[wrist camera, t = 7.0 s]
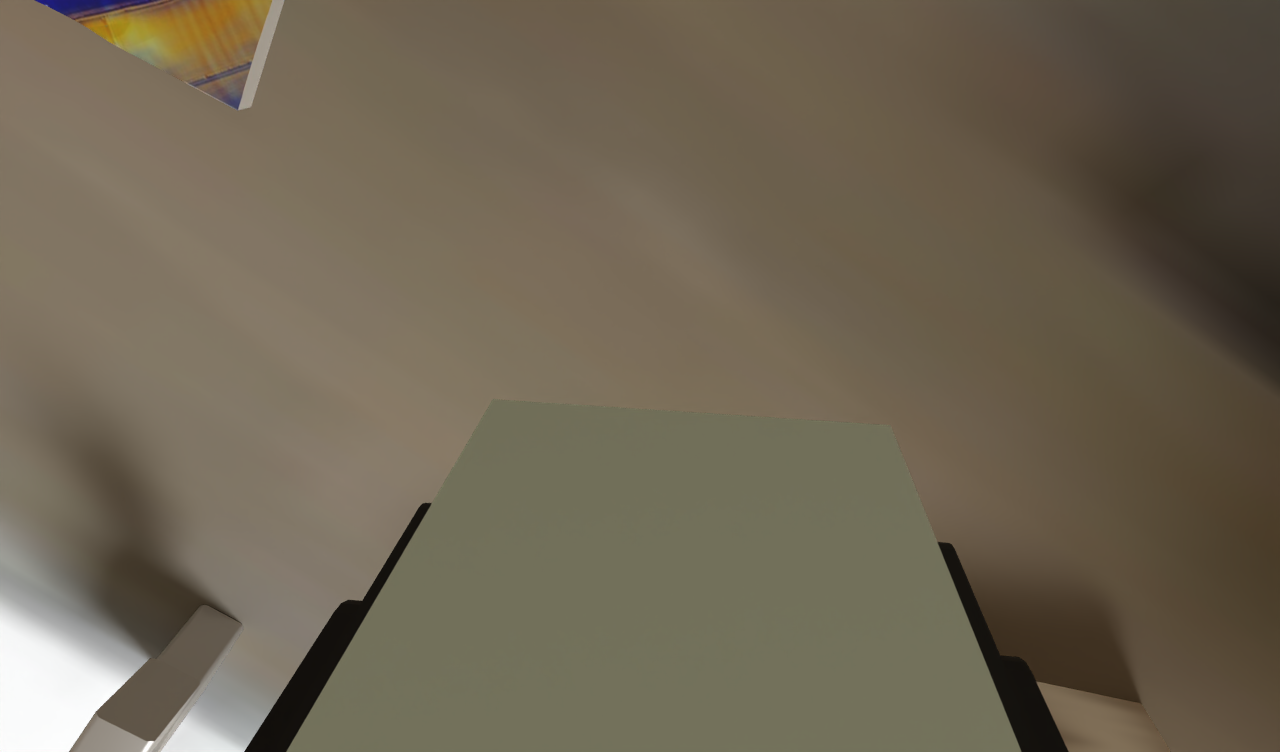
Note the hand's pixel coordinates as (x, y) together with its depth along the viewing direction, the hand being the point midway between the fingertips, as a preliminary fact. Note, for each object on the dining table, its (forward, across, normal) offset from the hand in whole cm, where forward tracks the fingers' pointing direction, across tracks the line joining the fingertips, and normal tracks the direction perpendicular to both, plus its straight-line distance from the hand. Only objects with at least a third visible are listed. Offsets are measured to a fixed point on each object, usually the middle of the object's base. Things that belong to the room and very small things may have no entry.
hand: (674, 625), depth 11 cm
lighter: (+15, +17, +14) cm, 27 cm away
